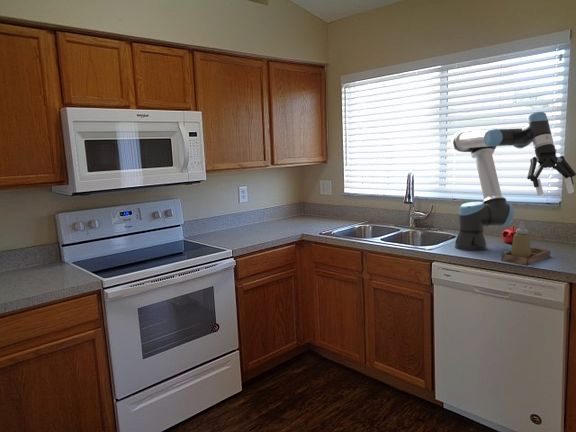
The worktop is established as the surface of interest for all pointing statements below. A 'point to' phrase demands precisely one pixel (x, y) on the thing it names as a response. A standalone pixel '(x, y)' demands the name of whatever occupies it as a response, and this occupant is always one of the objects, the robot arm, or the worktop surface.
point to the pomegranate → (509, 234)
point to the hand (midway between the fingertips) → (556, 193)
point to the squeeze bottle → (521, 242)
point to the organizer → (534, 257)
